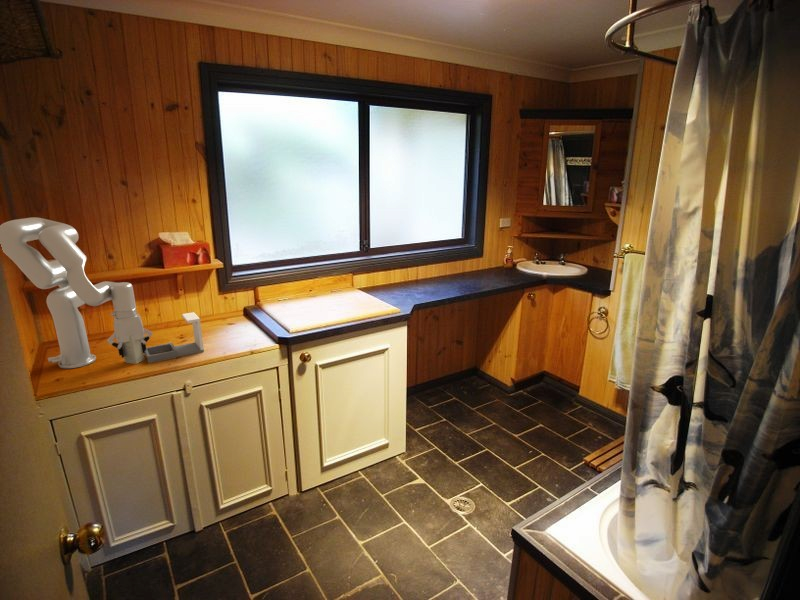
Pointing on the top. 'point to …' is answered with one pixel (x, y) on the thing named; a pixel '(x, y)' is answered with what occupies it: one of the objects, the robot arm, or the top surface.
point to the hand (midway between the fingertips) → (133, 354)
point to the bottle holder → (182, 349)
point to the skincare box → (133, 351)
